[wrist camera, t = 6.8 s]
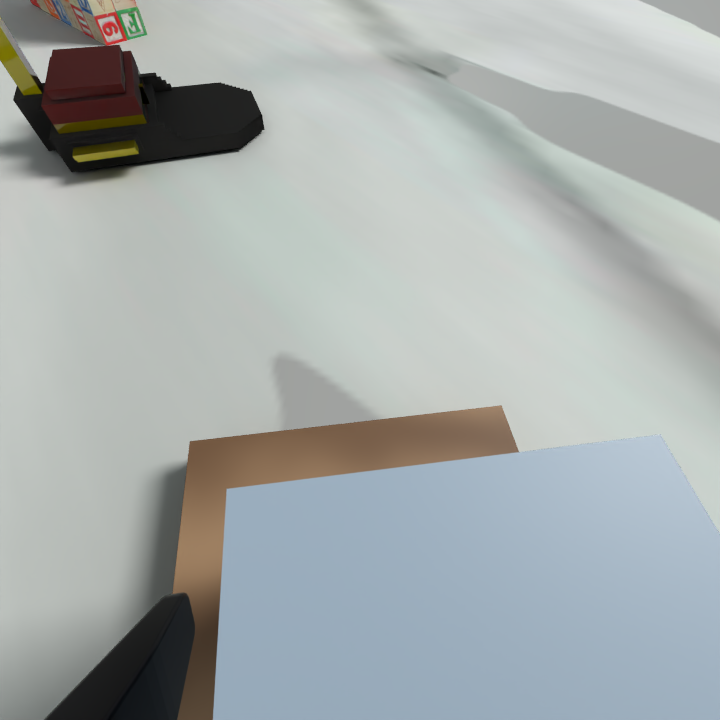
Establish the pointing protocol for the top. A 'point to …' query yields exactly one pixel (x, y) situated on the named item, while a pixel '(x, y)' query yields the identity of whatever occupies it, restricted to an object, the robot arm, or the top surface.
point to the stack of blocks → (98, 18)
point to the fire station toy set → (124, 108)
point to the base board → (288, 463)
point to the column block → (474, 592)
